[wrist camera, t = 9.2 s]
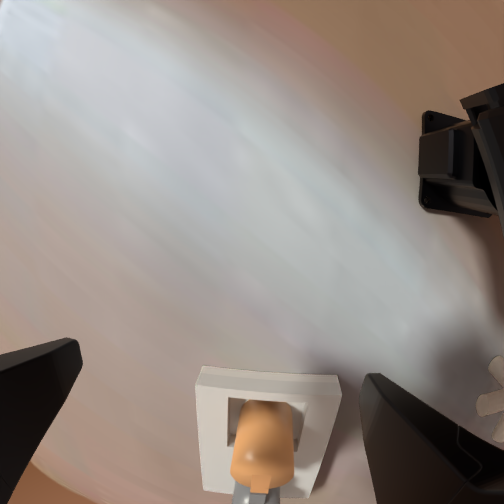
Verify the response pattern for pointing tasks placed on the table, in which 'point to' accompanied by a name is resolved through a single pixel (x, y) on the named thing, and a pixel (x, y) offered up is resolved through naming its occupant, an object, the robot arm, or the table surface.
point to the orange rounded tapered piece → (263, 446)
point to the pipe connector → (494, 399)
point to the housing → (268, 389)
